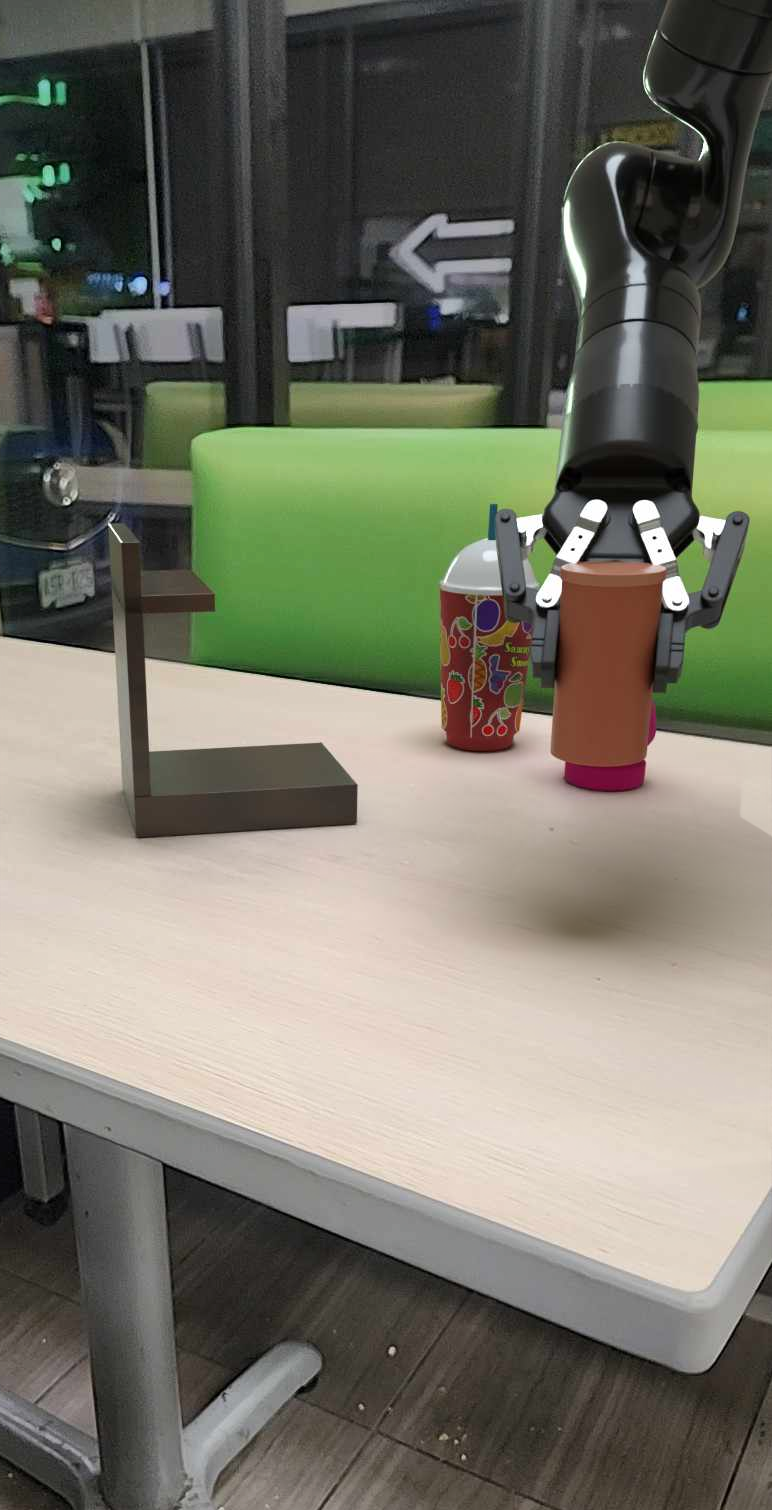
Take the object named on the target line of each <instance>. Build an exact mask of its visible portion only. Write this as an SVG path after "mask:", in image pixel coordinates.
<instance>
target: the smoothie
mask: <svg viewBox="0 0 772 1510" xmlns="http://www.w3.org/2000/svg"><path fill="white" fill-rule="evenodd" d="M498 505H499V504H498V503H490V504H489V510H488V511H489V513H488V529H487V538H483V539H479V540H476V541H473V542H472V543H470V544H468V545H466V546H465V547H463V548H462V549H461V550H460V551H459V552H458V553H457V554H456V555H455V556H454V558H453V559H452V560H451V562H450V563H449V564H448V567H447V569H446V571H445V574H444V576H443V578H442V579H440V581H439V582H438V588H439V643H440V645H439V647H440V650H439V651H440V713H441V714H440V715H441V716H440V717H441V718H440V719H441V721H440V722H441V726H440V727H441V729H442V730H443V731H444V732H445V734H446V743H448V744H449V745H450V746H452V747H454V748H456V749H459V750H464V751H471V752H493V751H501V750H504V749H507V748H509V747H511V746H513V741H514V738H515V735H516V734H517V733H519V732H520V728H521V723H522V722H521V721H522V713H523V707H524V698H525V692H526V685H527V676H528V668H529V663H530V648H531V640H532V632H533V627H532V625H530V624H529V623H527V622H524V621H521V622H519V623H512V622H509V621H508V620H507V619H506V617H505V611H504V603H503V595H502V588H501V580H500V572H499V565H498V557H497V549H496V535H495V515H496V513H497V512H498V507H499V506H498ZM523 567H524V574H525V582H526V587H529V588H533V589H536V590H540V586H541V584H540V582H539V581H537V579H536V576H535V572H534V570H533V569H534V568H533V566H532V564H531V562H530V560H529V559H528V558H527V559H526V560H524V561H523Z"/></svg>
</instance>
